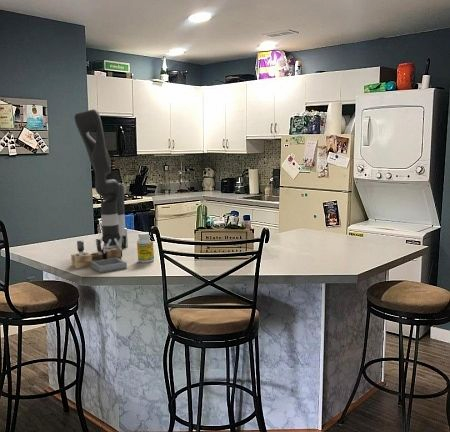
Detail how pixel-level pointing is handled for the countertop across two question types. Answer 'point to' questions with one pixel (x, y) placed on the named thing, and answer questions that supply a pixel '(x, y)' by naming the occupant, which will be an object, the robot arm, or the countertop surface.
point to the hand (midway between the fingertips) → (112, 259)
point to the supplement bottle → (145, 248)
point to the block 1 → (81, 260)
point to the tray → (108, 265)
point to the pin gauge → (80, 247)
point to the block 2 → (113, 253)
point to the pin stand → (96, 256)
